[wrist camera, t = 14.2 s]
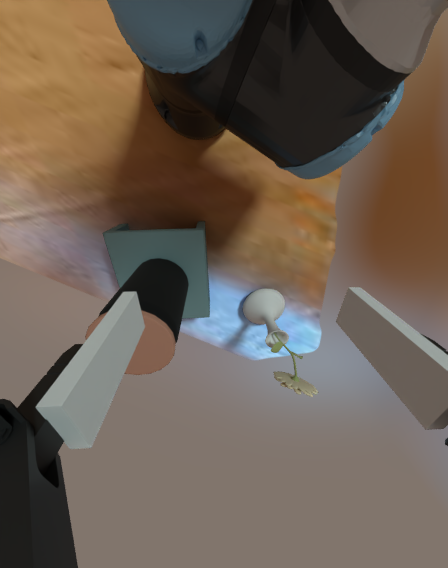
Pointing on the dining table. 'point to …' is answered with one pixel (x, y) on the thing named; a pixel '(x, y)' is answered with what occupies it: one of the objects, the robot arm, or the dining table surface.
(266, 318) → the flower in vase
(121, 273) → the green riser stand
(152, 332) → the coffee jar
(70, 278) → the dining table surface
